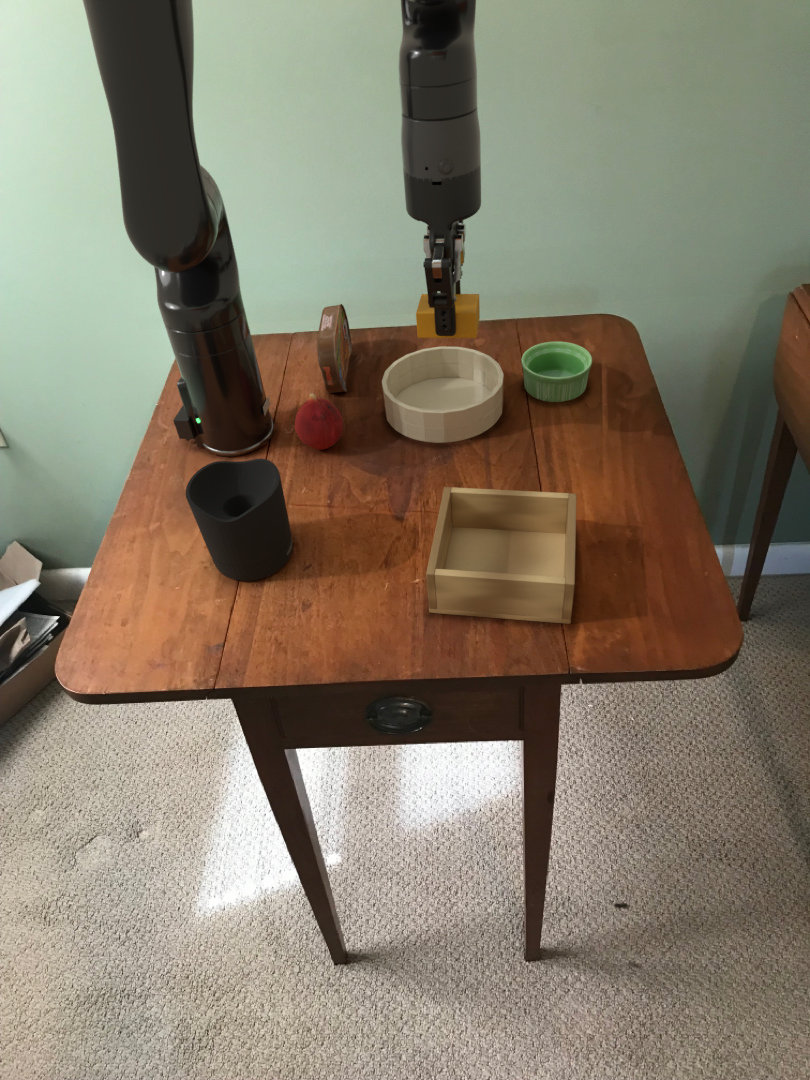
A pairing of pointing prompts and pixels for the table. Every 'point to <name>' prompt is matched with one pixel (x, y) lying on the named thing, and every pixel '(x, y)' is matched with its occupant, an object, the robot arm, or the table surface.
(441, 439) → the bowl
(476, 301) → the yellow rectangular block
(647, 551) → the table surface
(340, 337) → the tin
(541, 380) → the ramekin
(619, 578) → the table surface
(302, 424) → the onion
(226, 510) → the pen holder
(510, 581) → the box
